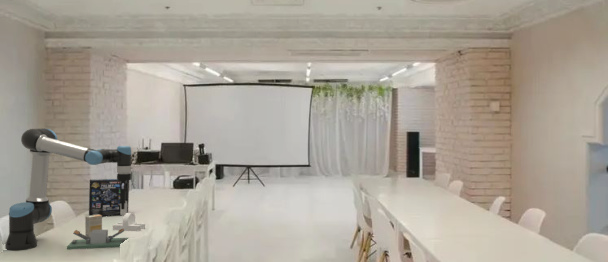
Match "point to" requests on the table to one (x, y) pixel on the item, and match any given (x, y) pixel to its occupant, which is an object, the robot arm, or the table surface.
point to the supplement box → (92, 223)
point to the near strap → (81, 235)
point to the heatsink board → (96, 241)
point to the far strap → (116, 234)
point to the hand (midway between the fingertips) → (123, 213)
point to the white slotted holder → (129, 224)
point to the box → (105, 197)
